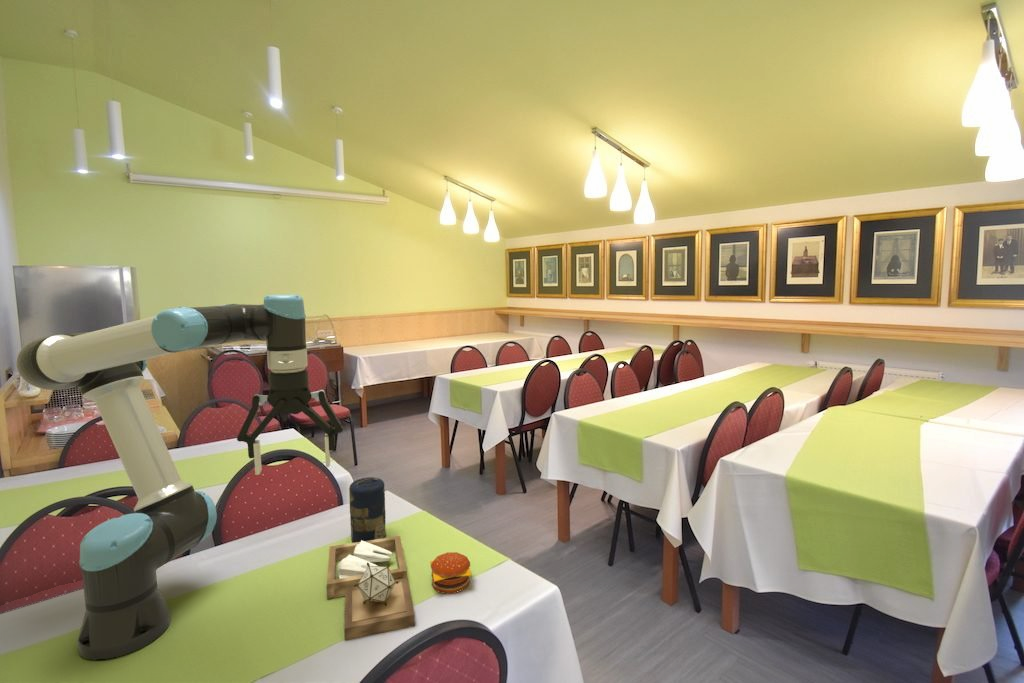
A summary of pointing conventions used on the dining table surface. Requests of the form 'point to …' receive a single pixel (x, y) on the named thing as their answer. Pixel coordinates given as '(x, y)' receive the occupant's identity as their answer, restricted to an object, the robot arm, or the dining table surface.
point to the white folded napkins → (362, 559)
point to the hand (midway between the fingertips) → (294, 468)
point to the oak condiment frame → (339, 585)
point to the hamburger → (450, 572)
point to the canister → (367, 509)
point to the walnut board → (378, 612)
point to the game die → (376, 584)
